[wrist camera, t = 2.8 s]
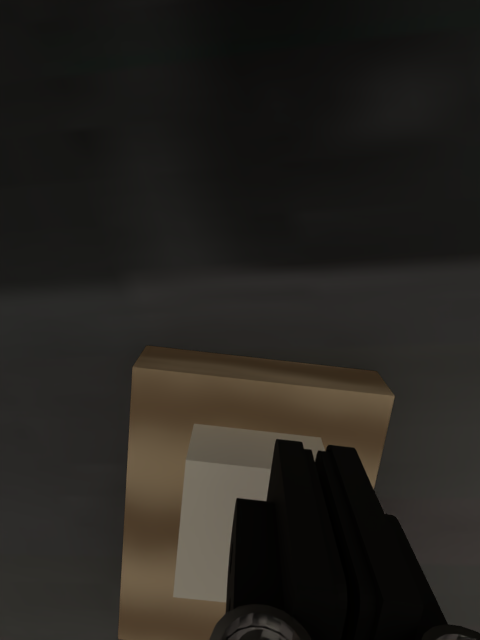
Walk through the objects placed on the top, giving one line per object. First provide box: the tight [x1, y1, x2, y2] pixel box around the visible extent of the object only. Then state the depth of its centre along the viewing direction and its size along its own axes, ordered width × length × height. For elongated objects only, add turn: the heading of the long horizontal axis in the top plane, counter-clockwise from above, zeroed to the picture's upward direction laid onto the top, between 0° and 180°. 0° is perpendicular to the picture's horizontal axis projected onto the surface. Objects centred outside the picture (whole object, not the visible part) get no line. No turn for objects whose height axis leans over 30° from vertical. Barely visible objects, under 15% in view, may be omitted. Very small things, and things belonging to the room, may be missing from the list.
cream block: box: [173, 424, 325, 602], centre depth 21 cm, size 7×6×3 cm
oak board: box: [118, 346, 395, 640], centre depth 24 cm, size 16×12×3 cm
